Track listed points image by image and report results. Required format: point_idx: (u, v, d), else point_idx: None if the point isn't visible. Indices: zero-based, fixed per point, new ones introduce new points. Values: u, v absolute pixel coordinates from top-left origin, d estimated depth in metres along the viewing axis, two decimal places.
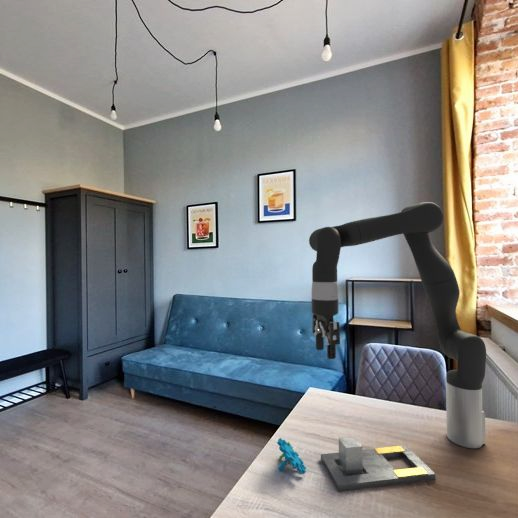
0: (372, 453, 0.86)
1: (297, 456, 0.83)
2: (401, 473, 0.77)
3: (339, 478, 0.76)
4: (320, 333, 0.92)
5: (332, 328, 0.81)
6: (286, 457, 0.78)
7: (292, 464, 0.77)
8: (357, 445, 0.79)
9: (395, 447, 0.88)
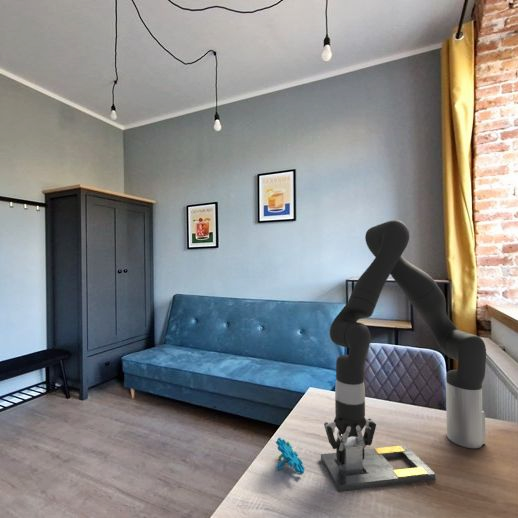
0: (372, 453, 0.86)
1: (296, 456, 0.83)
2: (401, 473, 0.77)
3: (339, 478, 0.76)
4: (339, 443, 0.81)
5: None
6: (284, 457, 0.78)
7: (290, 464, 0.77)
8: (357, 445, 0.79)
9: (395, 447, 0.88)
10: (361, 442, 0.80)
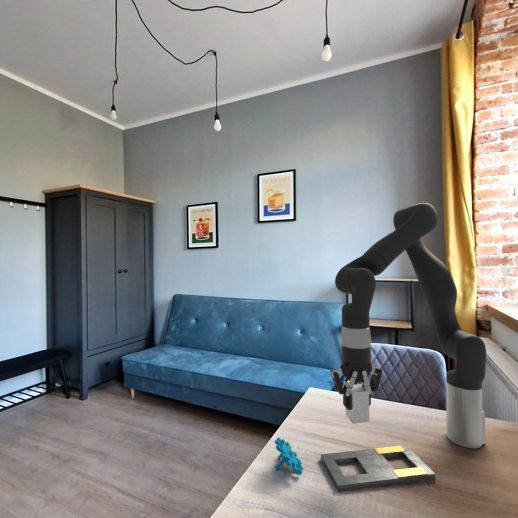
0: (372, 453, 0.86)
1: (295, 456, 0.83)
2: (401, 473, 0.77)
3: (339, 478, 0.76)
4: None
5: None
6: (282, 456, 0.78)
7: (288, 464, 0.77)
8: (363, 390, 0.79)
9: (395, 447, 0.88)
10: (367, 388, 0.80)
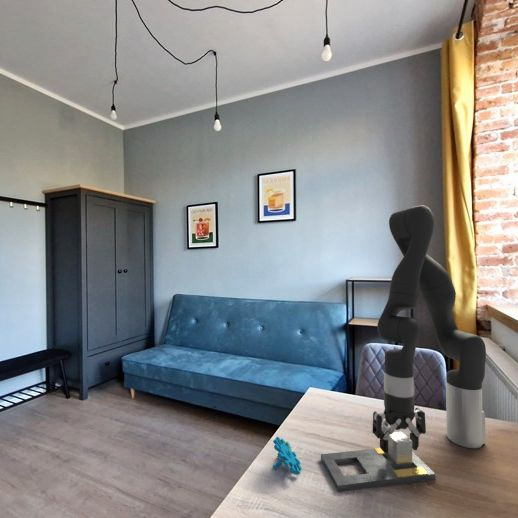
0: (372, 453, 0.86)
1: (294, 456, 0.83)
2: (401, 473, 0.77)
3: (339, 478, 0.76)
4: (383, 433, 0.82)
5: None
6: (279, 456, 0.78)
7: (285, 463, 0.77)
8: (406, 440, 0.81)
9: None
10: (416, 430, 0.82)
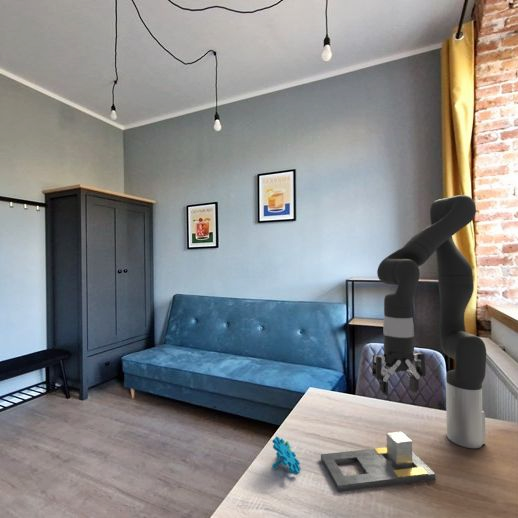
0: (372, 453, 0.86)
1: (293, 456, 0.83)
2: (401, 473, 0.77)
3: (339, 478, 0.76)
4: (383, 375, 0.82)
5: None
6: (278, 455, 0.78)
7: (283, 463, 0.77)
8: (406, 440, 0.81)
9: None
10: (416, 372, 0.82)
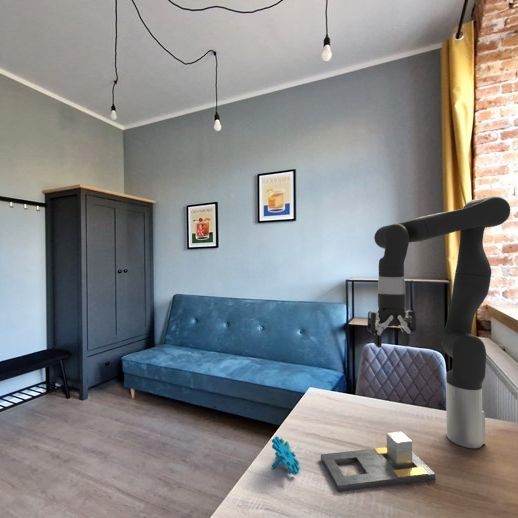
0: (372, 453, 0.86)
1: (292, 456, 0.83)
2: (401, 473, 0.77)
3: (339, 478, 0.76)
4: (377, 330, 0.91)
5: None
6: (277, 455, 0.78)
7: (282, 463, 0.77)
8: (406, 440, 0.81)
9: None
10: (407, 328, 0.91)
